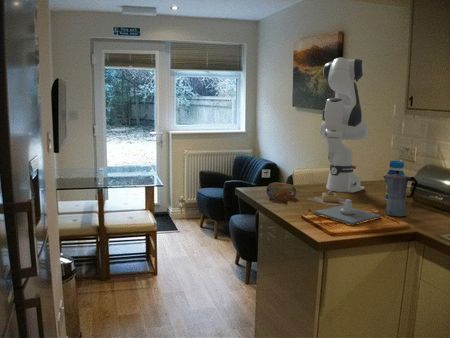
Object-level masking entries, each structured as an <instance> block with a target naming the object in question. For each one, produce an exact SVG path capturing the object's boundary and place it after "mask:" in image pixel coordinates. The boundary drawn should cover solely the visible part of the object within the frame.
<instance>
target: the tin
mask: <svg viewBox="0 0 450 338" xmlns="http://www.w3.org/2000/svg"><path fill="white" fill-rule="evenodd" d="M266 194H267V196H268V198H270V199H272V200H277V201H284V202H288V201H289V199H295V198H296V195H297V189H296V186H294V185H293V184H291V183H283V182H271V183H269V184H268V185H267V186H266Z"/></svg>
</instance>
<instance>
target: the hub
mask: <svg viewBox="0 0 450 338" xmlns="http://www.w3.org/2000/svg"><path fill="white" fill-rule="evenodd" d="M351 201H352V199H349V198H347V199H345V203H344V204H341V205H339V206H338V205H336V206H332V207H329V208H323V209H319V210H314V211H313V215H314V214H315V216H317V215H324V216H327V217H329V218H332V219H335V220H338V221H341V222H344V223H347V224H350V225H353V224H357V223H360V222H363V221H366V220H370V219H374V218H379V217H381V218H382V215H381V214H378V213H374V212H370V211H366V210H363V209H358V208H356V207H353V202H351ZM350 225H349V226H350Z"/></svg>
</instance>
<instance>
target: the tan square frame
mask: <svg viewBox="0 0 450 338" xmlns="http://www.w3.org/2000/svg"><path fill="white" fill-rule="evenodd" d="M321 196H322V200H323V202H337V198H339V197H338V194H337V193H336V192H332V195H328V192H322V193H321Z"/></svg>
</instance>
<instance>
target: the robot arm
mask: <svg viewBox="0 0 450 338" xmlns="http://www.w3.org/2000/svg"><path fill="white" fill-rule="evenodd" d="M322 69H323V70H322V74H323V77H324V80H325V81H327V82H328V83H327V84H328V86H329V88H330V89H331V90H332V91H333V92H335V93H334V97H330V98H327V99H326V102H325V107H324V109H322V122H321V123H320V127H319V133H320V135H321V136H322V138H324V139H325V140H326V150H327V153H328V154H327V155H328V157H327V159H328V161H329V163H330V165H329V174H328V178H327V183H326V184H325V187H326V190H327V191H332V192H338V193H356V192H359V191H363V190H365V186H362V185H361V178H360V177H359V176H358V175H357V174H356V173H355V172H354V170H356V169H357V166H356V165H354V164H353V150H352V149H351V148H350V147H348V146H347V145H345V144H343V142H342V141H344V140H345V141H361V140H364V139H366V138H367V136H368V135H369V130H370V129H369V126H368V123H367V122H366V121H365V120H363V115H364V114H363V111H362V106H361V102H360V97H359V90H358V85H357V83H358V82H359V80H361V79H362V77H363V76H364V73H365V70H366V68H365V64H364V61H363V60H362V59H360V58H355V59H353V58H351V59H350V58H349V59H348V58H346V57H337V58H335V59H333V60H332V61H329V62H327V63H325V64H324V66H323V68H322Z"/></svg>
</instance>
